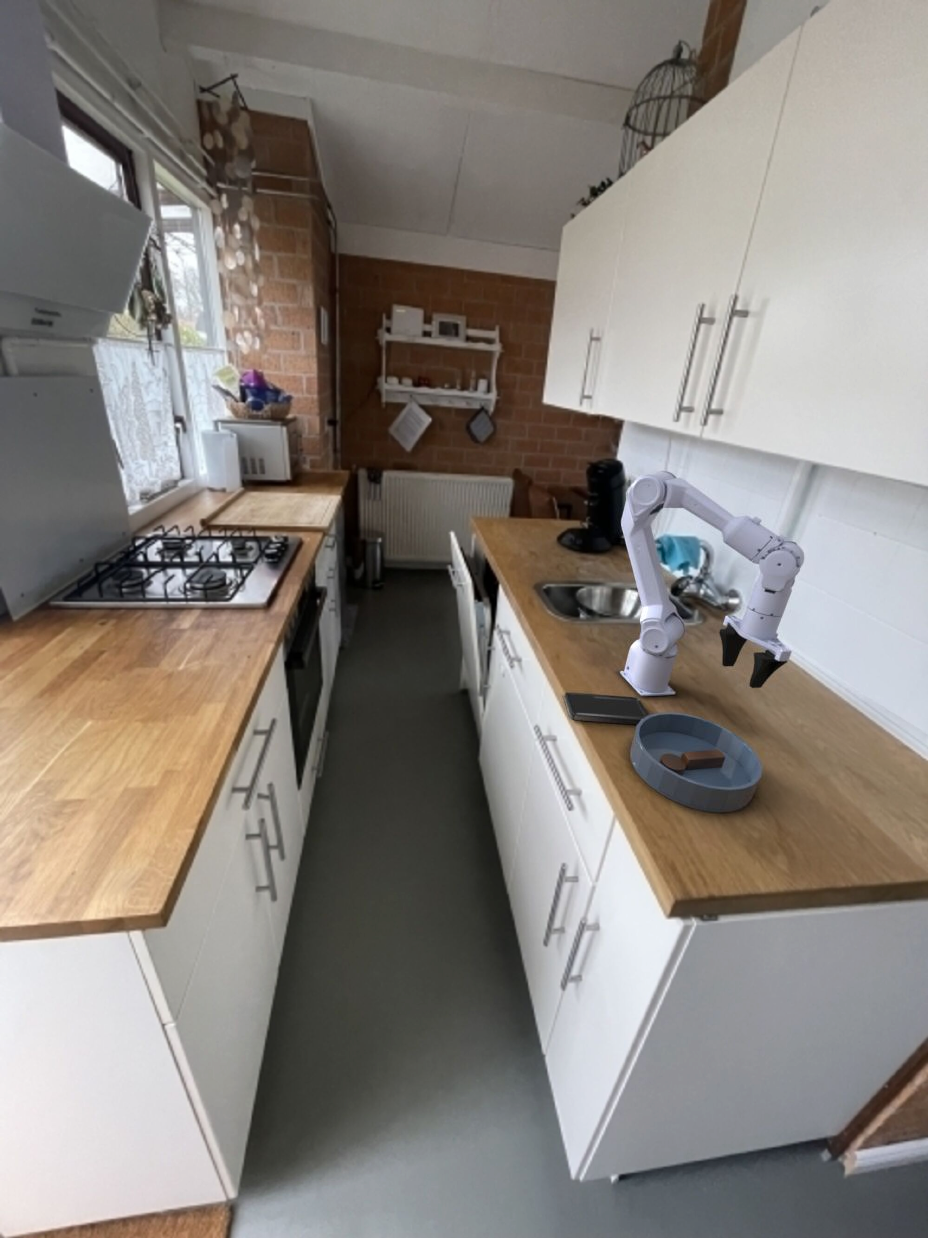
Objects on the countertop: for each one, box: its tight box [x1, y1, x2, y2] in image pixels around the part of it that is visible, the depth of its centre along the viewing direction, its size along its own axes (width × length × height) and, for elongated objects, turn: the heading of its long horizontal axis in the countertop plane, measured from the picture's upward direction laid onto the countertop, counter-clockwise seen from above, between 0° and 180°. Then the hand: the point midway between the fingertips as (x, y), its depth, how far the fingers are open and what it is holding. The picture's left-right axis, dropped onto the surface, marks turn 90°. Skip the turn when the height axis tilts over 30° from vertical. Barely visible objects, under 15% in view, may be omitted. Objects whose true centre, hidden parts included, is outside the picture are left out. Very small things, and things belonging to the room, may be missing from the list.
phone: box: [563, 691, 650, 726], centre depth 98 cm, size 8×1×15 cm
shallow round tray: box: [629, 711, 764, 814], centre depth 84 cm, size 19×19×4 cm
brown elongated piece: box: [659, 749, 726, 775], centre depth 84 cm, size 11×4×2 cm, turn 102°
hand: (740, 675), depth 96 cm, fingers open, 7 cm apart
